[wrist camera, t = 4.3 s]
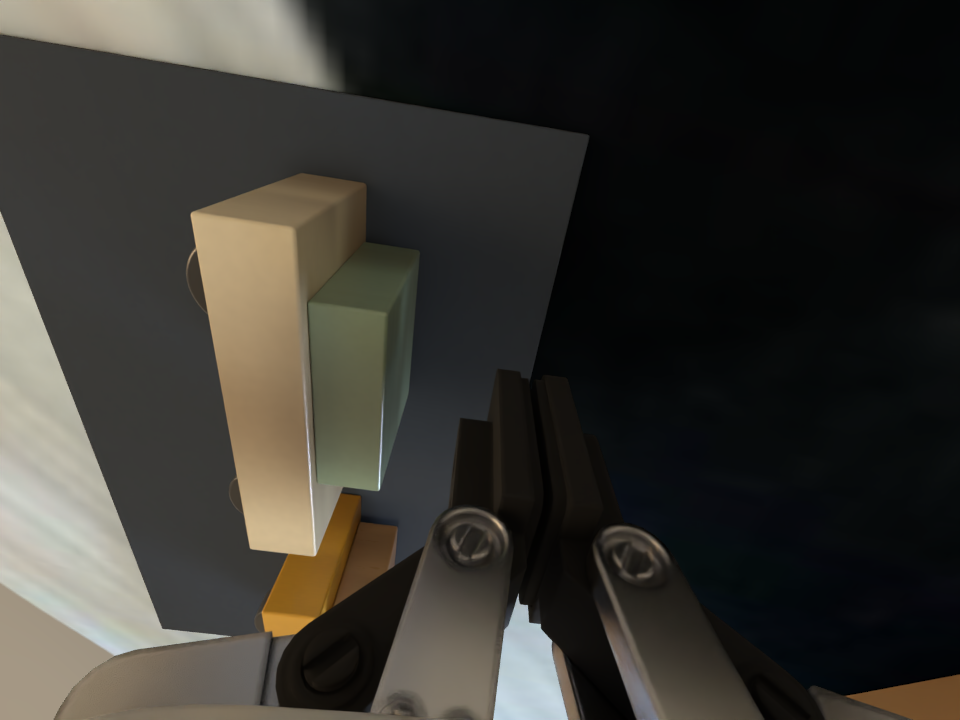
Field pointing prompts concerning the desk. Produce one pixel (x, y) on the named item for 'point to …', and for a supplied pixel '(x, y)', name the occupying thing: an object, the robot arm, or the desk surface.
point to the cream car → (304, 349)
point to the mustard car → (328, 570)
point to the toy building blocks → (918, 699)
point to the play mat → (185, 325)
